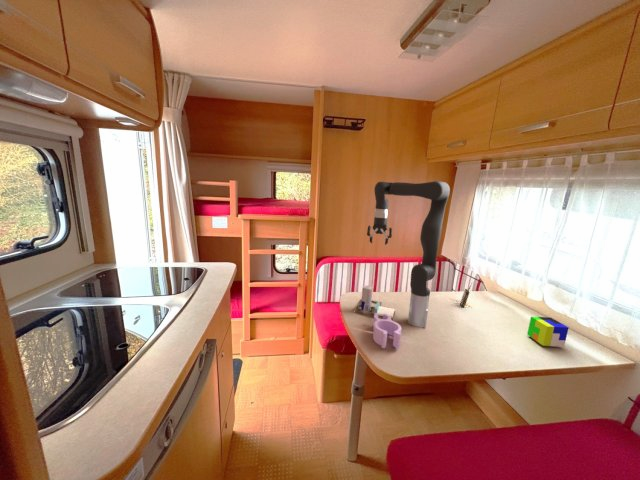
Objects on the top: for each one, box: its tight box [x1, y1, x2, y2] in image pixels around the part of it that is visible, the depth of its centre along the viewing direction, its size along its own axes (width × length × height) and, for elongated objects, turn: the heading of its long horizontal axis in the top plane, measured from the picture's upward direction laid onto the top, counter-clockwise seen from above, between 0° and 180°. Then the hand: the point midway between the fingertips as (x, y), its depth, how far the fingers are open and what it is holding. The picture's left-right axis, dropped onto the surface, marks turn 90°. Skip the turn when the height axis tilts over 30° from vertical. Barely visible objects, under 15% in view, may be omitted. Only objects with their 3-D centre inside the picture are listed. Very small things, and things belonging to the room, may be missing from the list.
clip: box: [372, 313, 402, 349], centre depth 127 cm, size 20×12×7 cm, turn 2°
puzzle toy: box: [526, 316, 569, 348], centre depth 130 cm, size 10×10×10 cm
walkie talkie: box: [448, 283, 473, 309], centre depth 166 cm, size 13×13×18 cm
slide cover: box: [374, 301, 396, 318], centre depth 149 cm, size 10×10×4 cm
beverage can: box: [360, 284, 373, 313], centre depth 152 cm, size 6×6×15 cm
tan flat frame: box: [353, 298, 396, 321], centre depth 155 cm, size 22×19×2 cm
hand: (378, 243), depth 157 cm, fingers open, 8 cm apart
